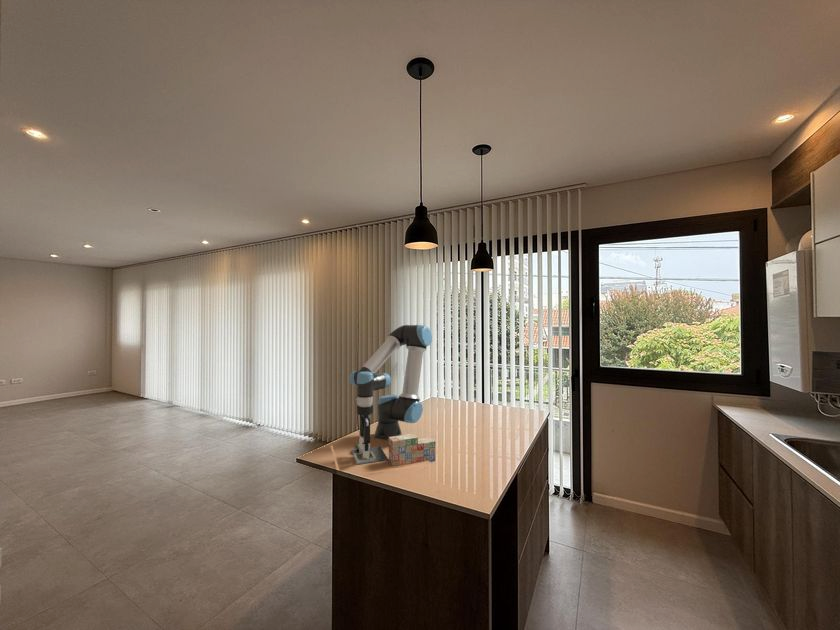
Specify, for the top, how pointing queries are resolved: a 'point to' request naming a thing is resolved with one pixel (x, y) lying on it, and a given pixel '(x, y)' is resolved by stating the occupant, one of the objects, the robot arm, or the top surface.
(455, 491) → the top surface
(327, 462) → the top surface
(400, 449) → the stack of blocks
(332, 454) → the top surface
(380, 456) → the panel
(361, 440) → the cylinder
